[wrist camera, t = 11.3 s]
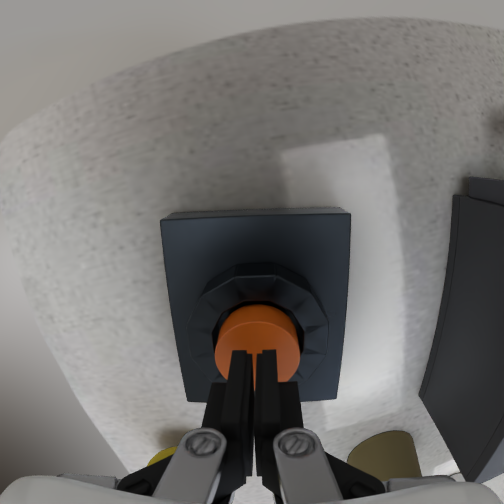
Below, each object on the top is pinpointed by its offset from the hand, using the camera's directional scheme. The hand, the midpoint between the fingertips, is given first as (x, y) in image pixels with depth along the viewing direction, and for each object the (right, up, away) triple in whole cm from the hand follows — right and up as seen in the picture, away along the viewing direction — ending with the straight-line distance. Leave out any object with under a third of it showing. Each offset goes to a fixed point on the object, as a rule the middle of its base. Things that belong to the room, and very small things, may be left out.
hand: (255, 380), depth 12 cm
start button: (0, +1, +3) cm, 3 cm away
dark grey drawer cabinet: (+18, +1, +6) cm, 19 cm away
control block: (0, +2, +6) cm, 7 cm away
